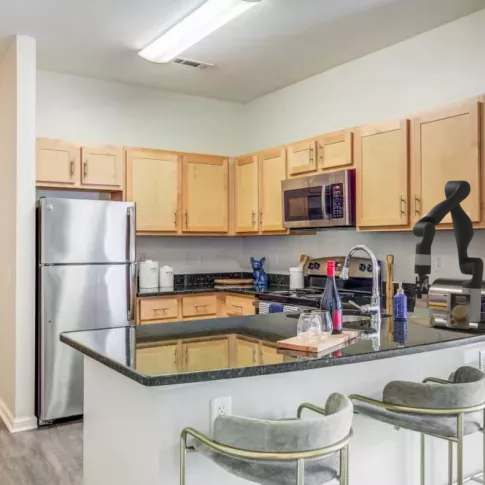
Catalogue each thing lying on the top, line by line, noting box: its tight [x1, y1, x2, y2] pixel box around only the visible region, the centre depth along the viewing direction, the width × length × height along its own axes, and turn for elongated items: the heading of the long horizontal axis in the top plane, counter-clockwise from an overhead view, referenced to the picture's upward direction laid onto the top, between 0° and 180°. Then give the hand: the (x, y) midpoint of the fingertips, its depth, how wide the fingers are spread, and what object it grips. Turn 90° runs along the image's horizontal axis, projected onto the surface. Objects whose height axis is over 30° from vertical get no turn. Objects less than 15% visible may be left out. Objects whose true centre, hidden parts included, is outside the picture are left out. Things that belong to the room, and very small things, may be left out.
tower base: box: [409, 315, 436, 328], centre depth 257 cm, size 9×9×4 cm
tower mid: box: [413, 306, 434, 318], centre depth 257 cm, size 7×7×4 cm
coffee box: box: [445, 292, 471, 330], centre depth 254 cm, size 9×6×16 cm
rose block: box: [414, 293, 430, 308], centre depth 256 cm, size 5×5×6 cm
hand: (421, 297), depth 257 cm, fingers open, 8 cm apart
